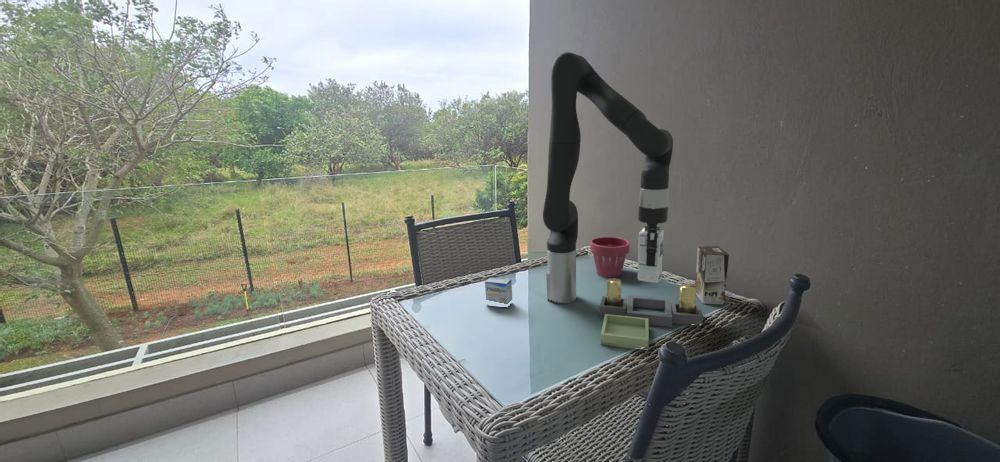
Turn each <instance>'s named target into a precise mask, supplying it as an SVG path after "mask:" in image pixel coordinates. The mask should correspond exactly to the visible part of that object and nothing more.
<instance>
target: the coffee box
mask: <svg viewBox="0 0 1000 462" xmlns="http://www.w3.org/2000/svg"><path fill="white" fill-rule="evenodd" d="M696 250H697V252H696V268H695V269H696V270H695V283H694V286H696V294H695V296H697V298H698V299H699V300H700V302H701V303H702V304H703V305H704V304H705V305H707V304H708V305H724V304H725V297H726V289H727V287H726V286H727V278H728V267H729V258H730V254H729V253H728V252H726V251H725V250H724V249H723V248H722V247H720V246H718V245H717V246H716V245H715V246H714V245H711V246H708V245H707V246H697V249H696ZM723 303H724V304H723Z"/></svg>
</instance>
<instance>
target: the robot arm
mask: <svg viewBox="0 0 1000 462" xmlns="http://www.w3.org/2000/svg"><path fill="white" fill-rule="evenodd" d="M550 88H551V91H550V92H551V93H550V94H551V113H550V130H549V143H548V157H547V159H548V160H547V161H548V164H547V178H546V179H547V181H546V182H547V183H546V184H547V185H546V192H545V199H544V205H543V210H542V221H543V223H544V225H545V227H546V228H547V229H548V231H550V232H549V233H550V234H549V237H548V238H547V241H546V251H547V252H546V254H547V272H546V276H545V277H546V300H547V299H549V300H548V301H551V300H552V301H551V302H553V301H554V302H553V303H556V302H557V304H569V303H573V302H575V301H576V300H577V242H578V235H579V234H578V233H579V213H578V208H577V206H576V204H575V203H574V201H572V200H570V197H571V196H570V195H571V187H572V182H573V179H574V177H575V174H576V171H577V168H578V165H579V160H580V154H581V142H582V141H581V139H582V135H581V134H582V133H581V128H580V123H579V119H578V113H577V97H578V93H579V94H581V95H582V96H583V97H585V98H587V99H588V100H589V101H590V102H591V103H593V104H594V105H595V106H596V108H597V109H598V110H599V111H600V113H601V114H602V115H603V116H604V118H605V119H607V121H608V122H609V123H610V124H611V125H613V126H614V127H615V128H616V129H617V130H619V131H620V132H621V133H622V134H624V135H625V136H626V137H627V139H629V141H631V143H632V144H633V145H634V146H635V148H637V149H638V151H640V153H642V154H643V155H645V159H644V166H643V168H642V169H641V173H640V174H641V175H640V190H639V191H640V192H639V194H638V195H639V196H638V216H637V217H638V218H637V219H638V221H639V222H641V223H645V224H647V225H645V226H644V228H645V231H644V232H648V234H647V236H645V245H647V250H646V253H647V258H646V265H647V266H655V254H656V252H657V250H656V248H657V245H658V241H657V236H658V234H657V233H660V229H661V228H660V226H658V224H664V223H666V222H667V221H668V214H669V213H668V212H669V199H670V197H669V195H670V194H669V183H670V182H669V181H670V165H671V161H672V156H673V155H672V154H673V148H674V140H673V139H674V138H673V136H672V134H671V133H670V132H669V131H668V130H666V129H663V128H658V127H657V126H655V125H654V124H653V123H652V122H651V121H650V120H648V119H647V116H646V115H645V114H644V112H643V111H641V110H640V109H639V108H638V107H637V106H635V105H634V104H633V103H632V102H631V101H629V100H628V99H626V98H625V97H624V96H623V95H621V94H620V93H619V92H618V91H617V90H616V89H614V88H612V86H610V85H609V84H608V83H607V82H606V81H605V80H604V79H603V78H602V77H601V76H600V75H599V73H597V71H596V70H595V69H594V67H593V66H592V65H591V64H590V63H589V62H588V60H587V59H586V58H585V57H584V56H582V55H579V54H577V53H574V52H571V51H570V52H569V51H567V52H566V51H565V52H562V53H560V54H559V55H557V56H556V57H555V59H554V61H553V63H552V66H551V71H550ZM650 245H651V246H654V249H649V246H650Z"/></svg>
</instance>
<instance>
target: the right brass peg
mask: <svg viewBox="0 0 1000 462" xmlns="http://www.w3.org/2000/svg"><path fill="white" fill-rule="evenodd" d="M678 303H679V313H687V314H694V308H695V304H696V286H695V284H692V283H681V284H680V286H679V298H678Z"/></svg>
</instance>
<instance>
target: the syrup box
mask: <svg viewBox="0 0 1000 462" xmlns="http://www.w3.org/2000/svg"><path fill="white" fill-rule="evenodd" d="M644 231H645V227H643V228H642V229H641V230H640V231H639V232H638V246H637V247H638V248H637V249H638V250H637V280H638V281H641V282H645V283H646V282H648V283H654V284H659V282H660V280H661V278H662V276H663V260H664V259H663V256H664V255H663V254H664V234H665V229H664V228H663V229H662V228H660V233H657V234H658V236H657V241H658V245H657V248H656V250H657V252H656V254H655V266H647V265H646V258H647V253H646V250H647V245H645V236H647V234H648V232H644ZM649 249H654V246H651V245H650V246H649Z"/></svg>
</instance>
